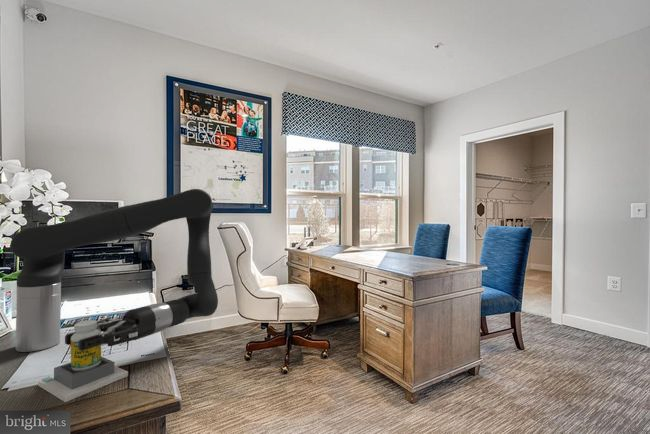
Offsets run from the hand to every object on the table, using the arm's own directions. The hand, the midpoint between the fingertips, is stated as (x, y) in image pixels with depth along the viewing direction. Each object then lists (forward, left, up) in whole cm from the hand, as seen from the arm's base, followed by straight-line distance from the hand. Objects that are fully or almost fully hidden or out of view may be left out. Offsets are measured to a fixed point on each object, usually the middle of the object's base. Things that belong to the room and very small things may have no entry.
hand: (72, 342), depth 68 cm
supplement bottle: (0, +3, -6) cm, 7 cm away
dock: (0, +2, -9) cm, 9 cm away
